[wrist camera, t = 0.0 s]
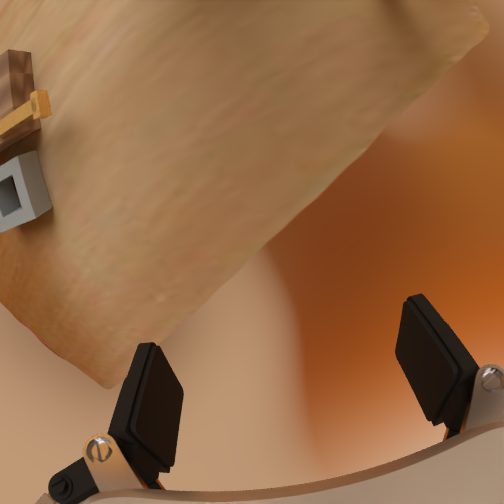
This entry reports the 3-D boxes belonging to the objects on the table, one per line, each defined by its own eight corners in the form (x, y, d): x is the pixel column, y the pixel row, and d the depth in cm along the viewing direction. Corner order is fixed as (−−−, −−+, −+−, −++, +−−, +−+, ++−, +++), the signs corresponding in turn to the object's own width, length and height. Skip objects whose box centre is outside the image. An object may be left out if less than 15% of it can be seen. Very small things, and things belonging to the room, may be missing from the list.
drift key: (-2, 122, 26) (-13, 124, 24) (47, 90, 25) (36, 90, 23) (2, 144, 27) (-9, 147, 25) (51, 114, 27) (40, 115, 25)
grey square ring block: (1, 170, 34) (-17, 177, 30) (36, 149, 34) (17, 155, 30) (17, 221, 39) (0, 232, 34) (52, 207, 38) (36, 218, 34)
